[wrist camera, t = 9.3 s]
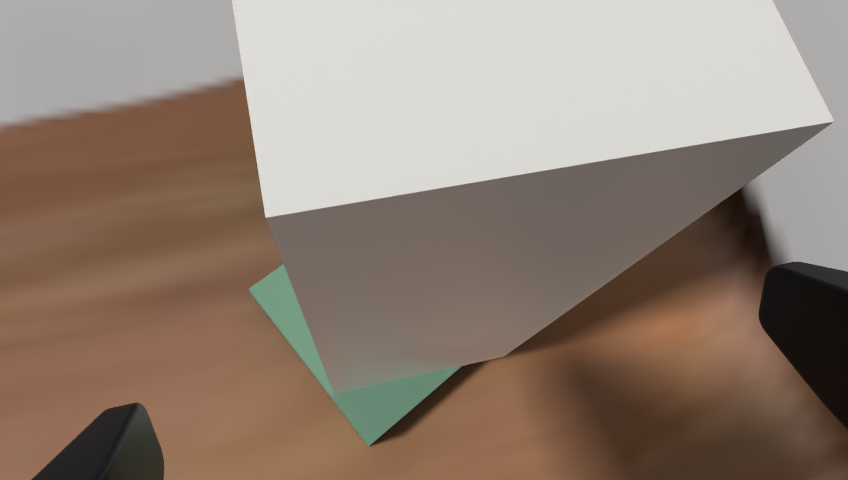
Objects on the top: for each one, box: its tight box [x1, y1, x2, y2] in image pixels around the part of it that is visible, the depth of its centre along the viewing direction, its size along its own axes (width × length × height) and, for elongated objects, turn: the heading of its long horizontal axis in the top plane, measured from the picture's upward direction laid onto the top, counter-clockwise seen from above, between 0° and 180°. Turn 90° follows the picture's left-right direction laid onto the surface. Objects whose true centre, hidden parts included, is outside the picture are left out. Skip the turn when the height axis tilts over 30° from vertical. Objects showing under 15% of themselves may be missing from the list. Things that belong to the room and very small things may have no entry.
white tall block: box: [232, 0, 834, 394], centre depth 11 cm, size 5×5×12 cm
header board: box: [249, 264, 462, 447], centre depth 16 cm, size 5×6×3 cm
